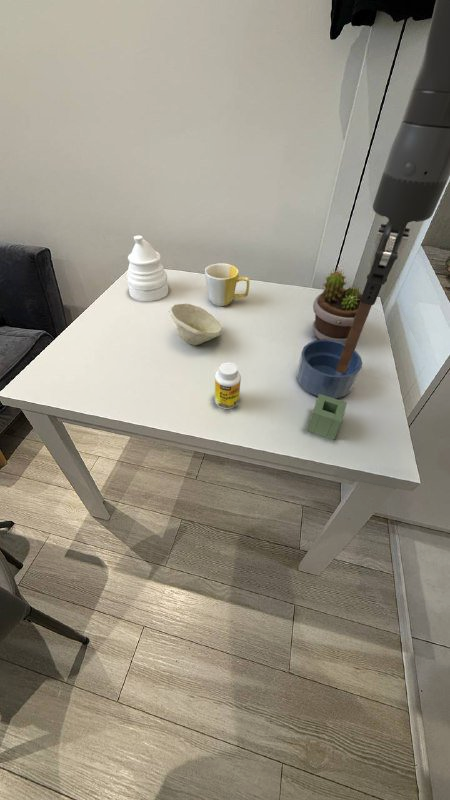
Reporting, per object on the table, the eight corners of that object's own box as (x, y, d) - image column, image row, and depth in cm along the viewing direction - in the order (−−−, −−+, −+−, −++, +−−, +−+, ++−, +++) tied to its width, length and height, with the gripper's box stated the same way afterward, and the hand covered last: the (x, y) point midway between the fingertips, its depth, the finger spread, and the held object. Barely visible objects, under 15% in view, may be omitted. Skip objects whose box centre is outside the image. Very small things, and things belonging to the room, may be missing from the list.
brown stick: (346, 368, 64) (385, 268, 49) (344, 373, 63) (384, 272, 48) (337, 365, 64) (373, 265, 50) (335, 371, 63) (372, 270, 49)
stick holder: (338, 420, 73) (347, 402, 68) (333, 440, 69) (341, 421, 65) (312, 412, 74) (319, 393, 70) (306, 430, 70) (312, 412, 66)
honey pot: (160, 303, 104) (153, 245, 91) (123, 297, 106) (110, 240, 93) (173, 285, 113) (169, 229, 100) (139, 280, 115) (129, 224, 102)
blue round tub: (355, 372, 84) (365, 349, 79) (346, 408, 75) (357, 384, 70) (303, 357, 88) (309, 334, 82) (289, 389, 79) (295, 366, 74)
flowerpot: (361, 329, 98) (387, 263, 83) (352, 358, 88) (380, 289, 74) (313, 317, 102) (330, 251, 87) (300, 343, 92) (316, 275, 77)
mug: (200, 306, 104) (200, 275, 96) (211, 291, 111) (211, 261, 103) (242, 314, 101) (244, 282, 94) (250, 299, 108) (253, 268, 100)
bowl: (229, 351, 88) (231, 319, 81) (178, 360, 85) (175, 328, 78) (213, 321, 98) (214, 291, 91) (167, 329, 95) (163, 297, 88)
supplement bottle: (216, 411, 74) (216, 377, 66) (213, 393, 77) (213, 360, 70) (240, 409, 74) (243, 375, 67) (236, 391, 78) (239, 358, 71)
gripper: (451, 189, 35) (388, 327, 47) (448, 164, 43) (395, 286, 56) (378, 179, 37) (336, 314, 49) (389, 157, 45) (351, 277, 58)
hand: (368, 299), depth 53 cm, fingers closed on brown stick, 2 cm apart
